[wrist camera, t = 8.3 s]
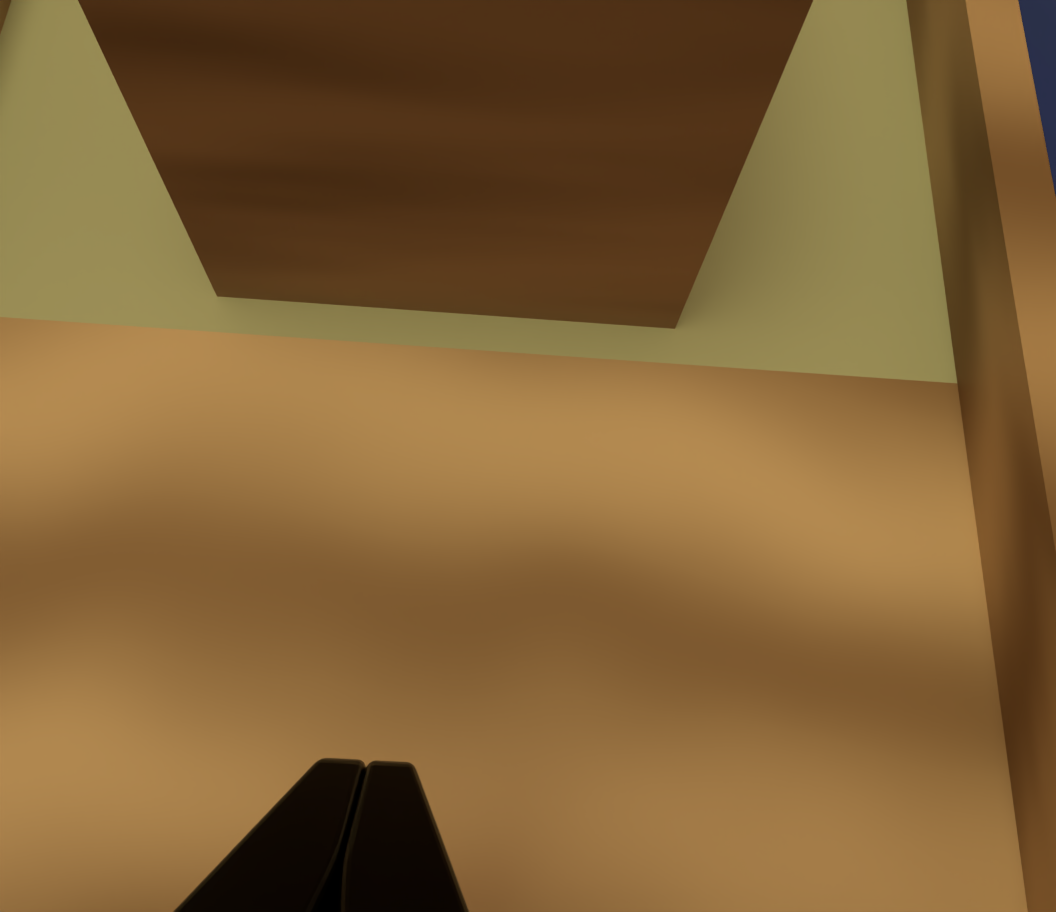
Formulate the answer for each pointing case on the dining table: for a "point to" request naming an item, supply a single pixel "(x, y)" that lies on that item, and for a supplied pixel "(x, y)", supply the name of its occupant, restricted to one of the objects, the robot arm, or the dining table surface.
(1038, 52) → the dining table surface
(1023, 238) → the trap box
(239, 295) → the walnut block
